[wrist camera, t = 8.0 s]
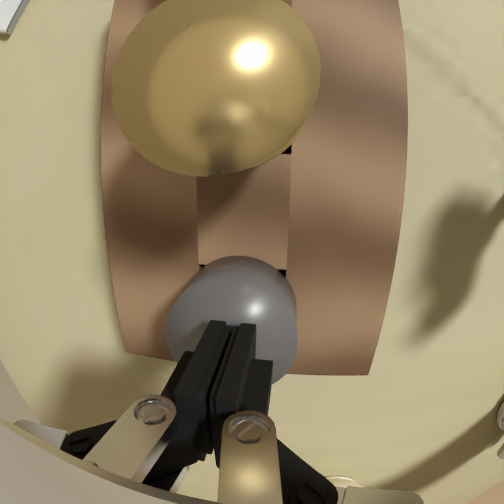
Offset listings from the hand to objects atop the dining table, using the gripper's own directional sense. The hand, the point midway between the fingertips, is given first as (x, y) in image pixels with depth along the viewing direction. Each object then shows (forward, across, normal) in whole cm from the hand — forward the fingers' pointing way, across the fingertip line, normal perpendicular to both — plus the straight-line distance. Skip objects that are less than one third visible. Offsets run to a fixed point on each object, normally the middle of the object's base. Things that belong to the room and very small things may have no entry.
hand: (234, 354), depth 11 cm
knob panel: (+10, 0, -9) cm, 13 cm away
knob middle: (+6, 0, -9) cm, 11 cm away
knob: (+8, 0, 0) cm, 8 cm away
